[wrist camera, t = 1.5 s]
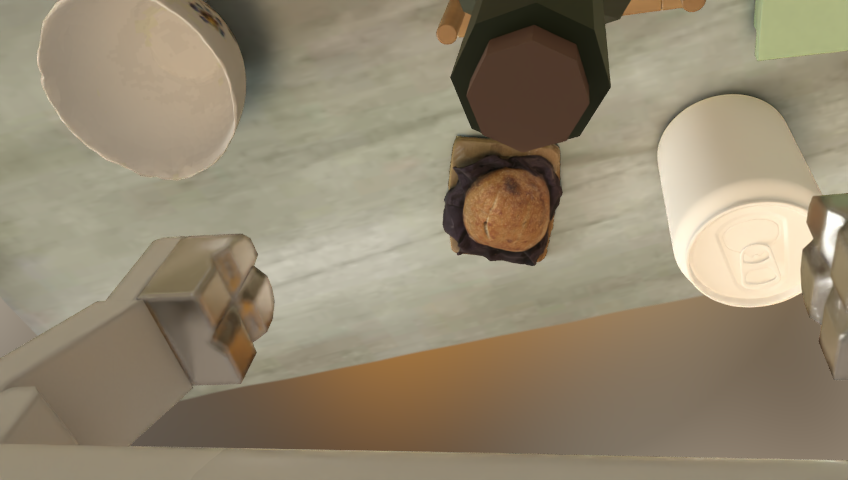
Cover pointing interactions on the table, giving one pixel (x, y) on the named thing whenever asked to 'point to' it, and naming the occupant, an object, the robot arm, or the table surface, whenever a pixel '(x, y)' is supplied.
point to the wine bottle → (534, 68)
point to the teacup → (144, 81)
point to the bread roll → (501, 200)
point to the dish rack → (458, 20)
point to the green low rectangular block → (800, 28)
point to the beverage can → (736, 200)
